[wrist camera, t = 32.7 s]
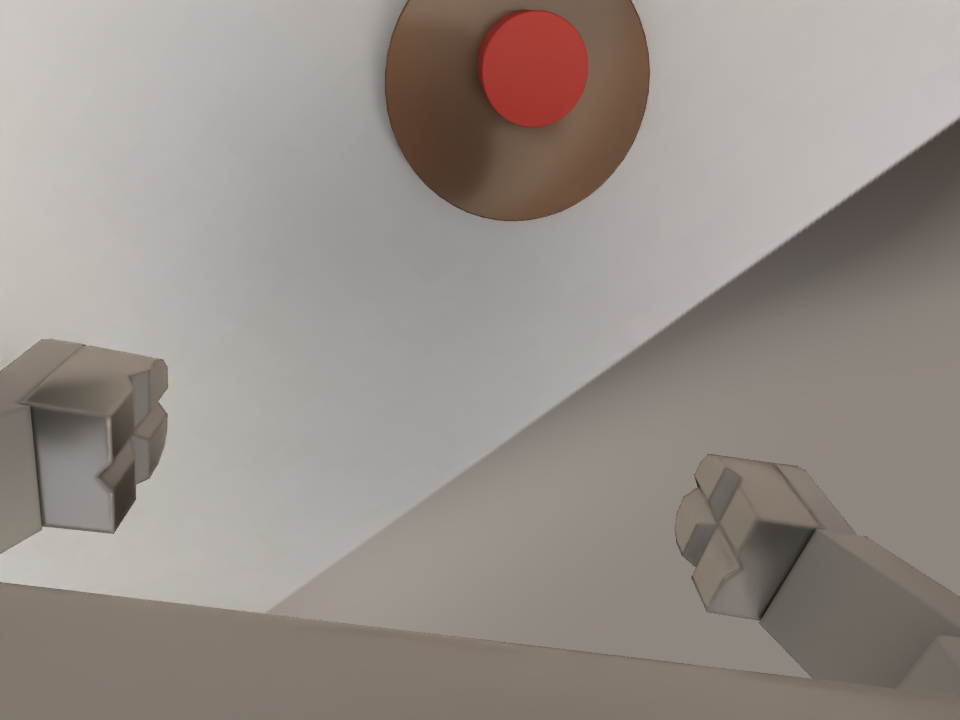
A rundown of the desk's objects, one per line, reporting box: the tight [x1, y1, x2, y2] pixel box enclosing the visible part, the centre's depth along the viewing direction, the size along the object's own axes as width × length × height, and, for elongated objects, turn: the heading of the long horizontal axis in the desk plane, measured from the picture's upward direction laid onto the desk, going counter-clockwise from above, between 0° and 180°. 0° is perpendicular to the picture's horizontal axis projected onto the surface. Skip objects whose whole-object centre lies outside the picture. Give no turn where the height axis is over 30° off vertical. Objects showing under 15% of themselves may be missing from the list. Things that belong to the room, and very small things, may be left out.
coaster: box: [385, 0, 650, 221], centre depth 27 cm, size 11×11×1 cm
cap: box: [477, 10, 588, 127], centre depth 25 cm, size 4×4×3 cm
